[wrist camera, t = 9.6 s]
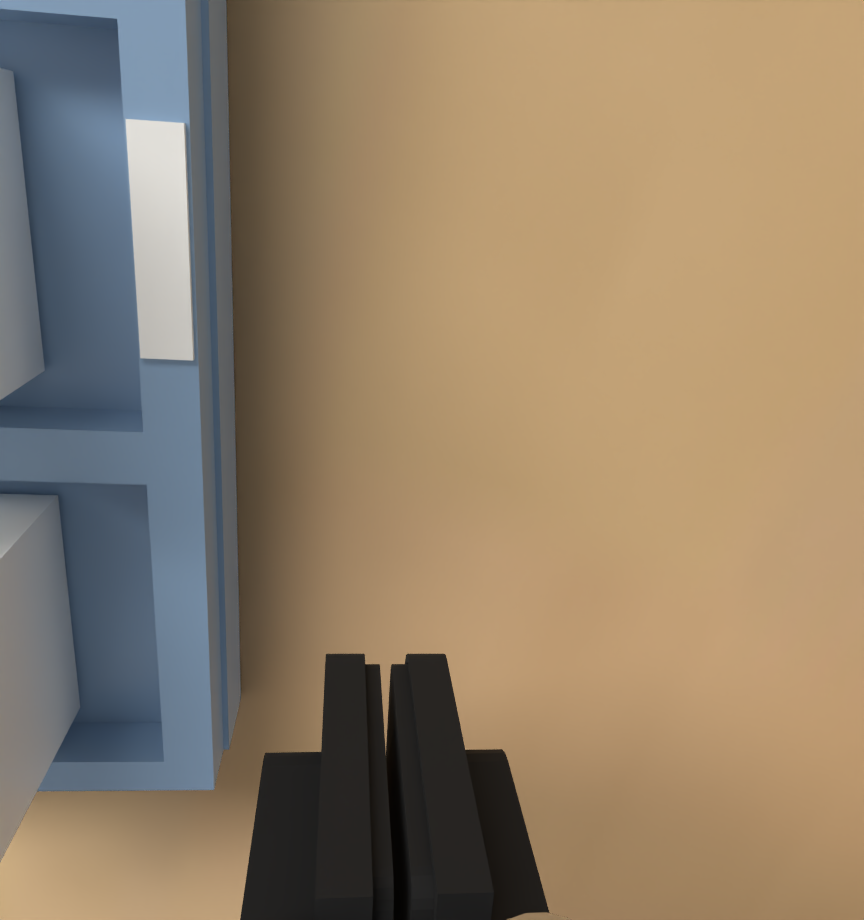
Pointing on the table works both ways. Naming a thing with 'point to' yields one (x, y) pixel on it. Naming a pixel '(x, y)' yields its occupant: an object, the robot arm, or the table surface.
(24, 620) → the white square block
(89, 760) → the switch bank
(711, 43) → the table surface
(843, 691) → the table surface
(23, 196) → the white rectangular block
